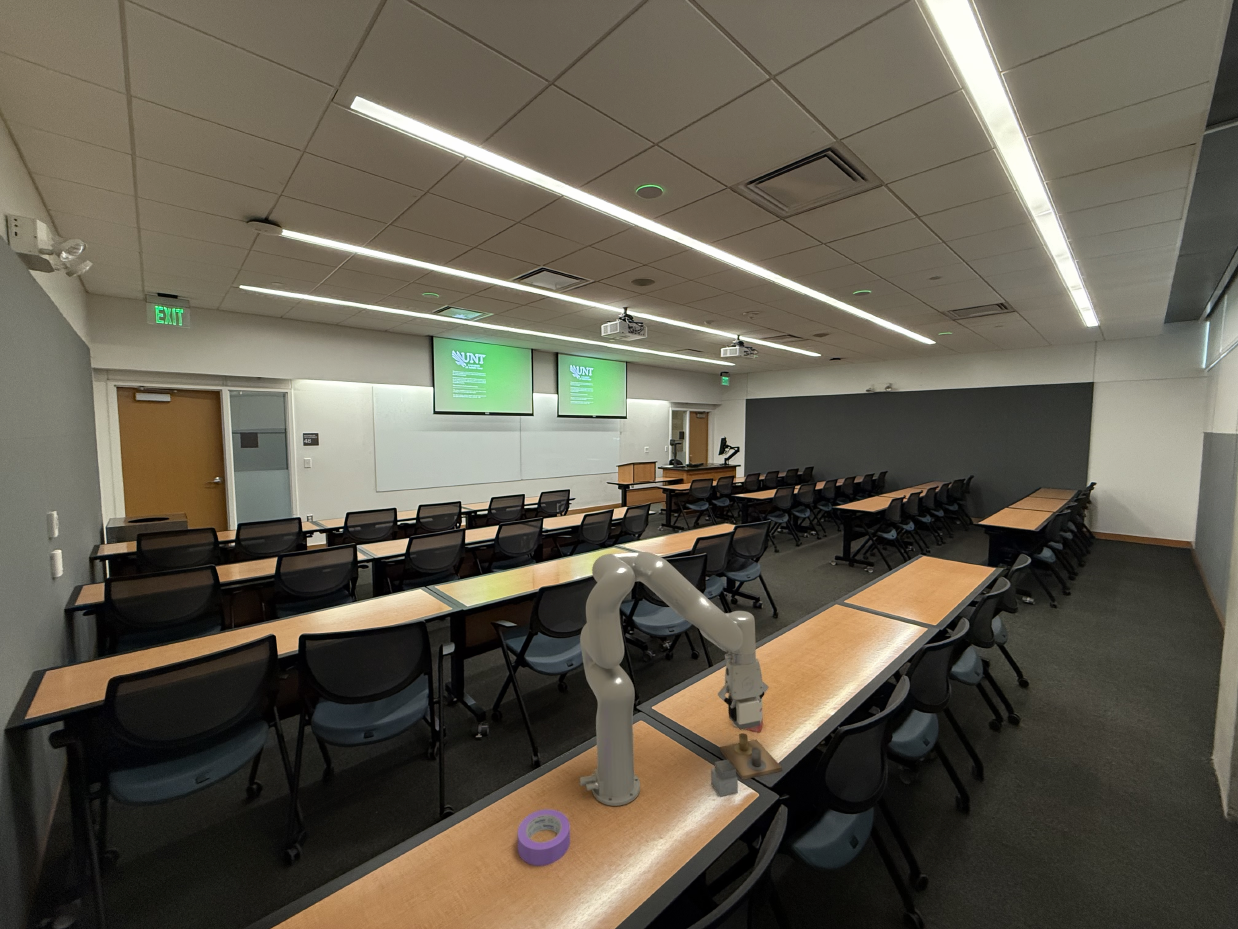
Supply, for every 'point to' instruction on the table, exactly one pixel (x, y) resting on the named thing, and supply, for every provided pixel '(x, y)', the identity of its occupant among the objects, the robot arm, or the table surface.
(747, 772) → the board
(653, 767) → the table surface
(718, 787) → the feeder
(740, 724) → the sleeve
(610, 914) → the table surface
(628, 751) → the robot arm
